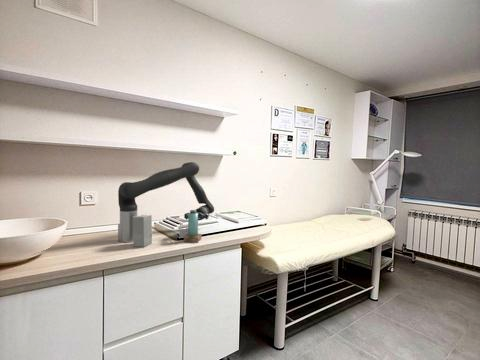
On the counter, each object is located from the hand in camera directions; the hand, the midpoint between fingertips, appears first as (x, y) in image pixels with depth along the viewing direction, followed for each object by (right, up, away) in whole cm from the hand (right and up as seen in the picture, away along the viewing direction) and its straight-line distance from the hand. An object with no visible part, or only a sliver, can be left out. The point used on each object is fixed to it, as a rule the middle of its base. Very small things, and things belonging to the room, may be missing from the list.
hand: (193, 218), depth 146 cm
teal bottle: (0, -10, 0) cm, 10 cm away
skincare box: (-26, -13, -11) cm, 31 cm away
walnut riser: (0, -13, 0) cm, 13 cm away
